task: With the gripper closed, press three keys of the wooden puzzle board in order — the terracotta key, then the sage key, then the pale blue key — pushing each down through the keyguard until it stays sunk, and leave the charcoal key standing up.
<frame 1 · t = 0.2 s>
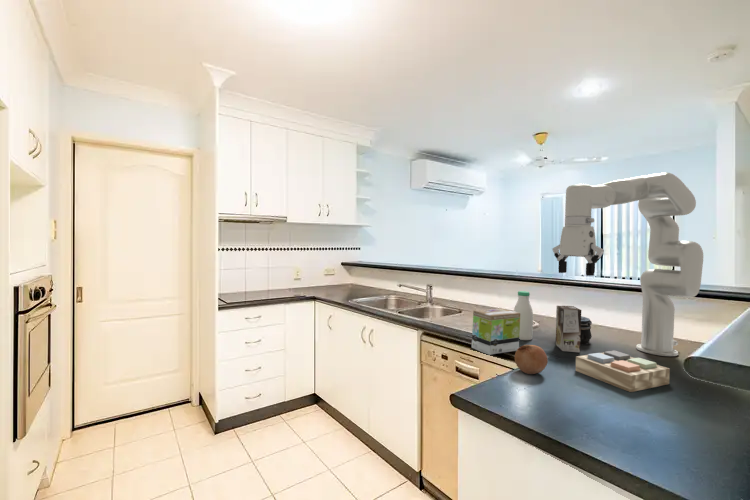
hand: (575, 274, 117), 31 cm above the counter, tool pointing down, fingers open, 9 cm apart
key terracotta: (625, 368, 104), point 4 cm above the counter, slide at 0.0 cm
wooden puzzle board: (620, 377, 108), on the counter
milk bottle: (522, 338, 151), on the counter
onion: (530, 373, 111), on the counter
key pale blue: (600, 360, 110), point 4 cm above the counter, slide at 0.0 cm
key charcoal: (616, 358, 113), point 4 cm above the counter, slide at 0.0 cm
tea box: (495, 350, 134), on the counter
coffee box: (567, 349, 137), on the counter
key sage: (641, 365, 106), point 4 cm above the counter, slide at 0.0 cm
container: (573, 341, 148), on the counter
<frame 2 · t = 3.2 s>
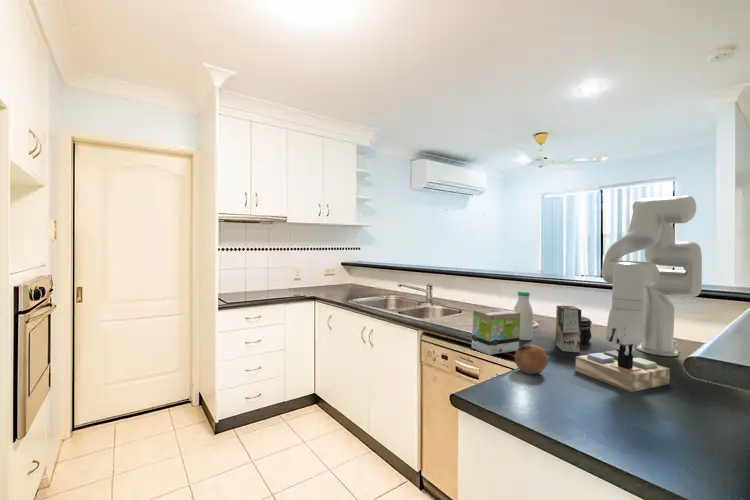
hand: (624, 367, 103), 5 cm above the counter, tool pointing down, fingers closed
key terracotta: (624, 372, 104), point 3 cm above the counter, slide at 1.0 cm, touching gripper
everything else where it was.
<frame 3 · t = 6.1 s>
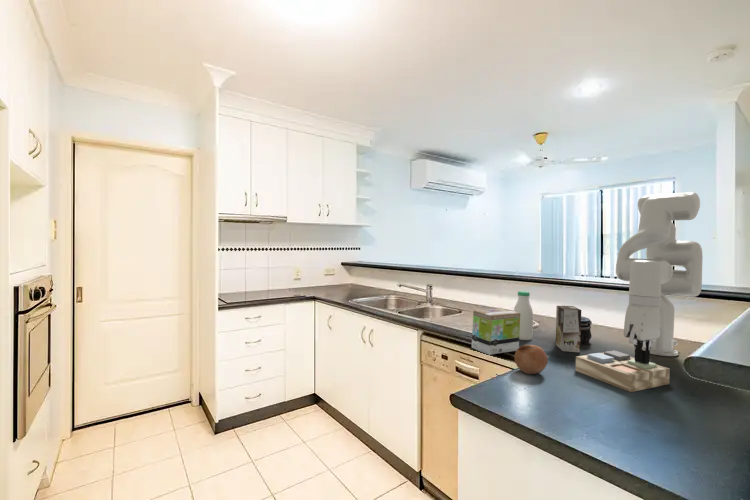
hand: (641, 362, 106), 6 cm above the counter, tool pointing down, fingers closed
key terracotta: (624, 374, 104), point 3 cm above the counter, slide at 1.7 cm
key sage: (641, 367, 106), point 4 cm above the counter, slide at 0.4 cm, touching gripper
everything else where it was.
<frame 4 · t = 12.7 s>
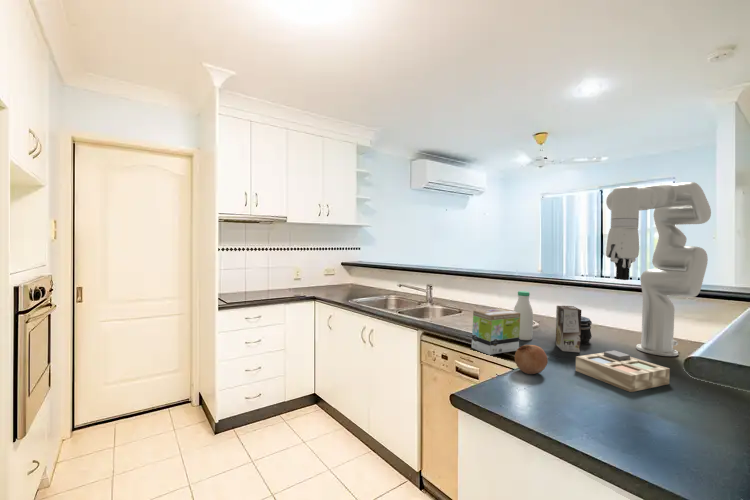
hand: (622, 279, 118), 29 cm above the counter, tool pointing down, fingers closed
key pale blue: (600, 365, 111), point 3 cm above the counter, slide at 1.7 cm
key sage: (641, 371, 106), point 3 cm above the counter, slide at 1.7 cm
everything else where it was.
at the end: key terracotta slide at 1.7 cm; key sage slide at 1.7 cm; key pale blue slide at 1.7 cm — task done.
